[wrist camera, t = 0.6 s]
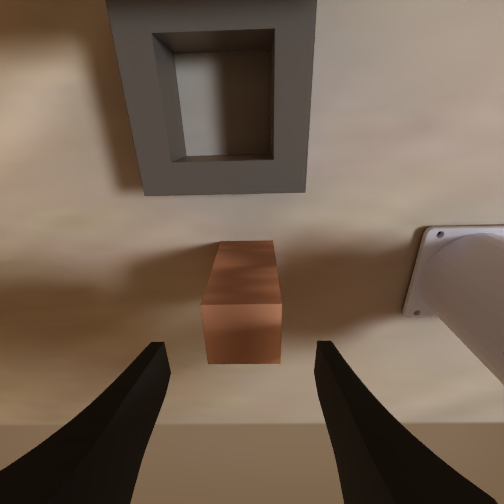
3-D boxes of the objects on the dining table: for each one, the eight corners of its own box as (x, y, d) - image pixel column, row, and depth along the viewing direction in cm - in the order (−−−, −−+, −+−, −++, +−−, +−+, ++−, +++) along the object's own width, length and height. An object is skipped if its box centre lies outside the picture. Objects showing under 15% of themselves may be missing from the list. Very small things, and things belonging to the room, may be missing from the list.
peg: (272, 240, 20) (282, 303, 13) (272, 285, 22) (280, 363, 14) (220, 241, 20) (200, 304, 13) (224, 285, 22) (208, 363, 15)
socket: (304, 6, 14) (318, -29, 11) (296, 181, 18) (305, 192, 15) (135, 13, 14) (101, -19, 11) (164, 184, 18) (144, 196, 15)
